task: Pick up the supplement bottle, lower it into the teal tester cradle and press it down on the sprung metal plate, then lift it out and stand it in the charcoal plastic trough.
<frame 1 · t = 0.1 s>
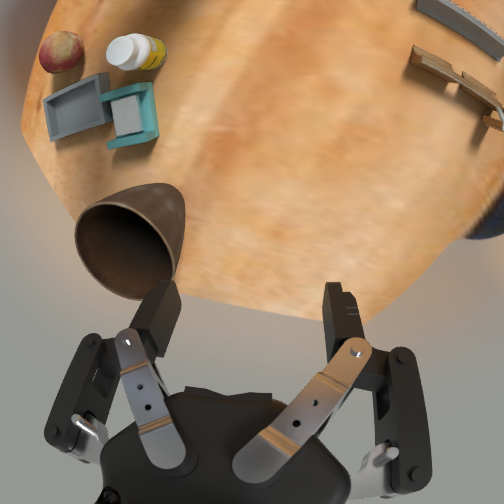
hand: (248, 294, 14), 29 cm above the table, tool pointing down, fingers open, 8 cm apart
plant pot: (164, 201, 44), on the table
fruit: (76, 51, 28), on the table
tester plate: (127, 115, 33), point 3 cm above the table, slide at -0.1 cm
supplement bottle: (153, 54, 30), on the table
skate ramp: (455, 81, 27), on the table
tester cradle: (136, 112, 35), on the table
trough: (81, 106, 34), on the table
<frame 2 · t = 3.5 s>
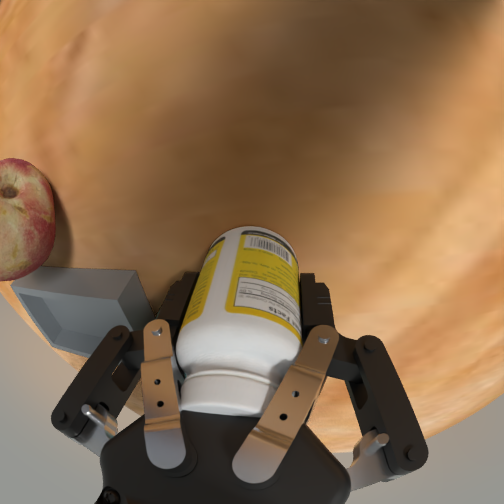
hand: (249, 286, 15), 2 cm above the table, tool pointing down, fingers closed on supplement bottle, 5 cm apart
fruit: (43, 191, 15), on the table
supplement bottle: (253, 261, 16), on the table, touching gripper
trough: (89, 306, 21), on the table
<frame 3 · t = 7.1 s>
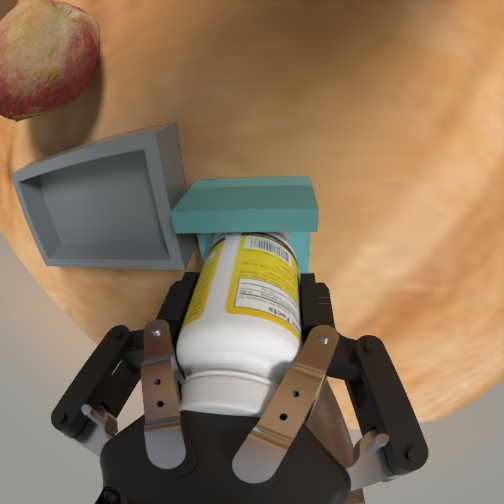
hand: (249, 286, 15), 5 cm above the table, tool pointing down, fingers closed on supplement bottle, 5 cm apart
plant pot: (283, 365, 28), on the table
fruit: (81, 54, 12), on the table
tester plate: (252, 259, 17), point 2 cm above the table, slide at -0.8 cm, touching supplement bottle
supplement bottle: (253, 261, 17), point 3 cm above the table, touching gripper, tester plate
tester cradle: (255, 239, 19), on the table
trough: (103, 196, 18), on the table
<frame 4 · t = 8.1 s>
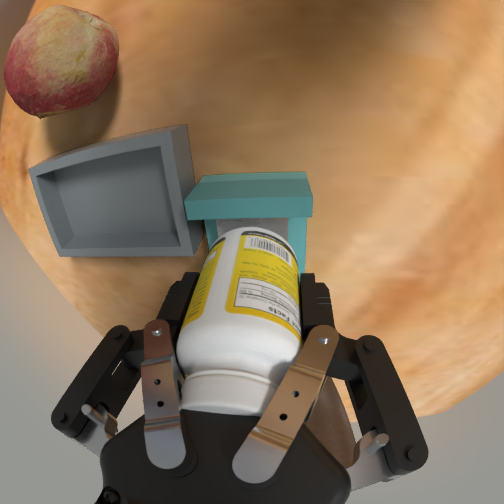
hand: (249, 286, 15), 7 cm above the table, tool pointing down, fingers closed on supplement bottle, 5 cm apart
plant pot: (283, 354, 29), on the table
fruit: (98, 59, 14), on the table
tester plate: (254, 249, 18), point 3 cm above the table, slide at -0.4 cm
supplement bottle: (253, 261, 17), point 5 cm above the table, touching gripper
tester cradle: (257, 229, 20), on the table
trough: (117, 190, 20), on the table
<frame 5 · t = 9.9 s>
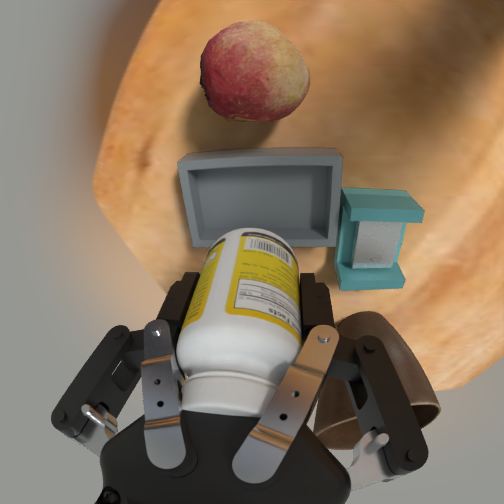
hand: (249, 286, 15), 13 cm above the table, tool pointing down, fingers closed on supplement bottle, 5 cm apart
plant pot: (360, 326, 36), on the table
fruit: (257, 75, 20), on the table
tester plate: (376, 242, 24), point 3 cm above the table, slide at -0.4 cm
supplement bottle: (253, 262, 17), point 11 cm above the table, touching gripper
tester cradle: (369, 228, 27), on the table
trough: (262, 191, 26), on the table
when the fingers open (4 cm above the table, at t = 11.6 s): supplement bottle drops 1 cm, resting on trough.
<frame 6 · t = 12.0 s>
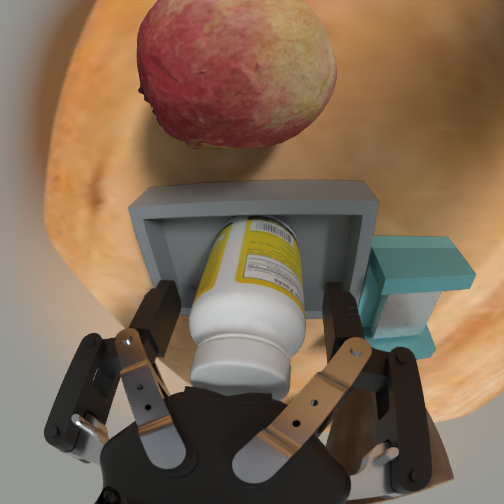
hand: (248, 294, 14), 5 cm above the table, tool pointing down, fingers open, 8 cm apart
plant pot: (371, 379, 28), on the table
fruit: (246, 68, 12), on the table
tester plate: (406, 307, 17), point 3 cm above the table, slide at -0.4 cm
supplement bottle: (258, 246, 18), point 1 cm above the table, touching trough
tester cradle: (397, 284, 19), on the table
trough: (256, 241, 18), on the table
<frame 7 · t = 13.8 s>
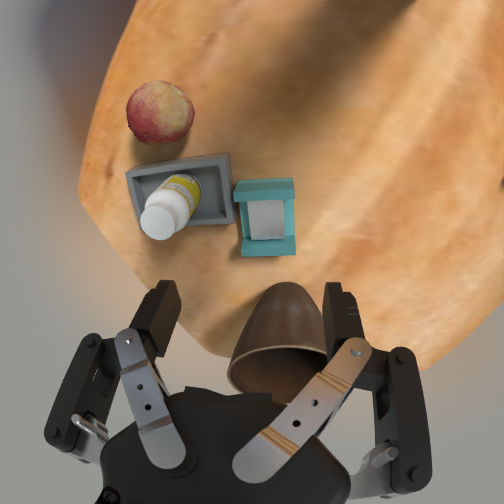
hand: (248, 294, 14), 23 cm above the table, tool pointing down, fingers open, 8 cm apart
plant pot: (285, 297, 45), on the table
fruit: (172, 109, 30), on the table
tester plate: (266, 218, 35), point 3 cm above the table, slide at -0.4 cm
supplement bottle: (184, 189, 35), point 1 cm above the table, touching trough
tester cradle: (267, 209, 37), on the table
trough: (184, 188, 36), on the table
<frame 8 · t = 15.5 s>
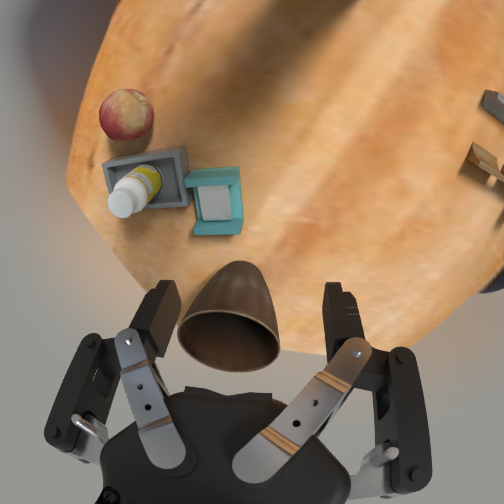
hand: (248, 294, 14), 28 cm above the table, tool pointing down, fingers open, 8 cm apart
plant pot: (241, 275, 50), on the table
fruit: (140, 111, 34), on the table
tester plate: (215, 201, 39), point 3 cm above the table, slide at -0.4 cm
supplement bottle: (149, 177, 40), point 1 cm above the table, touching trough
skate ramp: (495, 171, 32), on the table
tester cradle: (219, 195, 41), on the table
trough: (150, 176, 41), on the table
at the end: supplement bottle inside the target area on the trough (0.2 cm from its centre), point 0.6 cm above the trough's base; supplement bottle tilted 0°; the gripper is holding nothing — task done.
